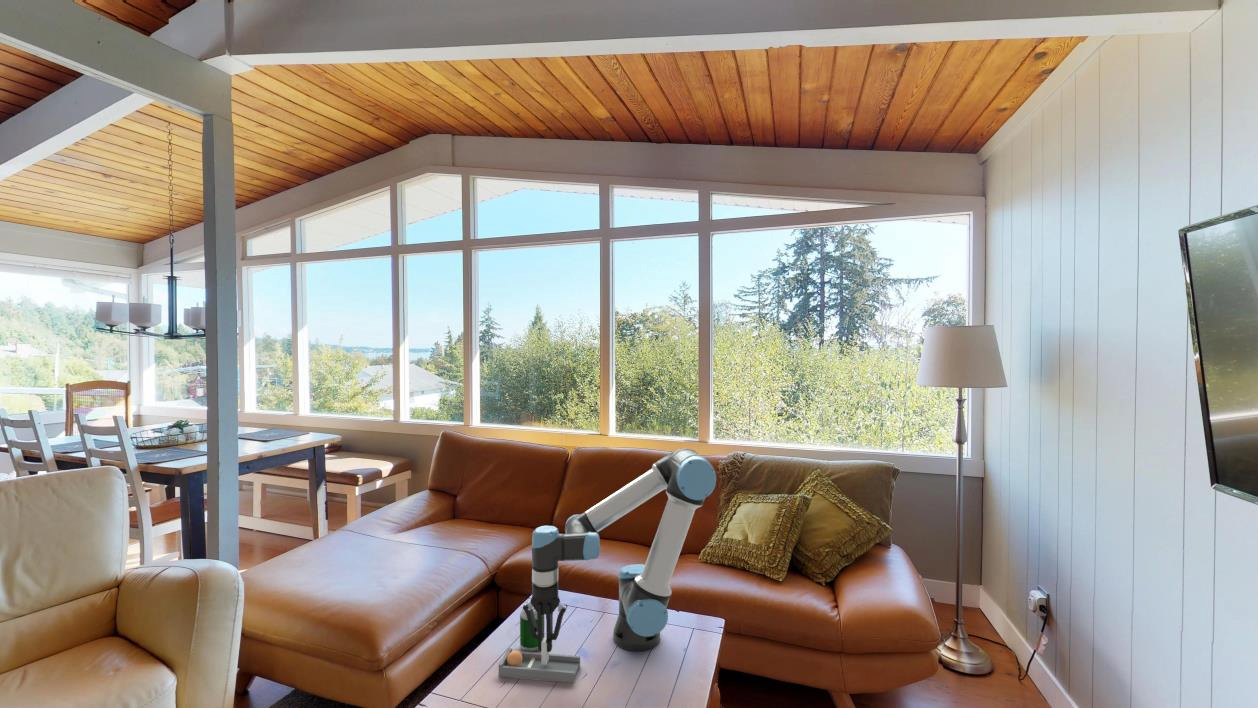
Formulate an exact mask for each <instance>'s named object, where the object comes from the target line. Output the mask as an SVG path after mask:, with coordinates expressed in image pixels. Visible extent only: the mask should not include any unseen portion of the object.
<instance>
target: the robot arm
mask: <svg viewBox="0 0 1258 708" xmlns="http://www.w3.org/2000/svg"><path fill="white" fill-rule="evenodd" d="M716 483H717V474H716V471H715V468H714V466H713V465H712V464H711V463H710V461H709V460H708V459H707V458H705V457H704V456H702V455H701V454H699V453H698V452H697V451H695V450H694V449H692V448H688V447H687V448H686V447H683V448H679V449H678V448H677V449H675V450H674V451H671V452H670V453H668V454H666V455H665V456H663V457H662V458H660V459H659V460H657V461H656V462H654V463H652V466H651V469H649V470H647V471H646V472H645V473H643V474H642V475H639V476H638V477H637V478H635V479H634V480H632V481H631V482H628V483H627V484H626V485H624V486H622V487H621V488H620V489H619V490H617V491H614V492H613V493H612V494H610V495H609V496H608V497H606V498H605V499H603V500H601V501H600V502H598V503H596V504H595V505H593V506H592V507H590V508H589V509H587V510H586V511H584V512H582V513H580V514H573V515H571V516H570V517H568V518H567V520H566V522H565V526H564V532H565V533H560V532H559V528H557V527H556V526H554V525H541V526H539V527H536V528H535V529H534V530H533V532H532V537H531V540H532V541H531V582H532V583H531V598H530V600H529V601H526V602H525V603H524V605H523V607H522V610H523V609H524V611H525V613H526V615H527V619H528V623H529V628H530V632H531V636H532V638H533V639H535V638H536V639H537V640H538V650H537V651H538V652H540V653H541V664H545V665H546V664H547V662H548V660H549V654H550V653H551V651H552V649H553V641H556V640H557V639H558V636H559V635H560V630H561V626H562V622H563V618H564V615H565V613H566V612H567V609H568V604H563V603H562V602H561V600H560V597H559V562H568V561H569V562H571V561H574V562H575V561H589V560H591V561H592V560H596V559H598V558H599V557H600V554H601V551H600V550H601V542H600V541H601V539H600V535H599V532H600V531H602V530H604V529H605V528H607V527H608V526H610V525H612V524H613V523H614V522H616V521H618V520H619V519H621V518H622V517H623V516H625V515H627V514H628V513H630V512H632V511H633V510H635V509H636V508H637V507H640V505H643V504H644V503H646V502H647V501H649V500H650V499H651V498H653V497H654V496H656V495H658V494H659V493H660V492H662V491H664V490H665V494H666V495H667V499H668V500H667V501H666V505H665V507H664V510H663V513H662V516H661V519H660V521H659V524H658V528H657V529H656V530H657V531H656V533H655V536H654V538H653V542H652V543H651V546H650V550H649V552H648V556H647V558H646V561H645V563H644V564H643V563H639V564H638V563H637V564H628V565H627V564H626V565H625V566H622V567H621V568H620V569H619V571H618V580H619V581H618V615H617V619H616V621H615V625H614V626H613V627H614V628H613V632H612V633H613V634H612V635H613V638H612V639H613V642H614V643H615V644H616V645H617V646H618V647H620V648H622V649H624V650H626V651H630V652H631V651H634V652H641V651H642V652H643V651H647V650H651V649H653V648H654V647H656V646H657V645H658V644H659V643H660V641H661V633H662V631H663V630H664V628H666V626H667V623H668V620H669V611H668V608H667V607H668V604H669V601H670V599H671V596H672V593H673V592H672V588H671V586H670V583H671V580H672V577H673V574H674V571H675V569H676V565H677V562H678V560H679V557H680V554H681V552H682V549H683V546H684V543H685V540H686V537H687V535H688V531H689V529H690V526H691V524H692V520H693V517H694V515H695V511H696V510H697V509H699V508H701V507H703V505H704V502H705V499H706V498H707V497H710V495H711V494H712V493H713V491H714V489H715V487H716ZM533 607H534V609H535V610H536V612H537V618H538V630H537V625H536V621H535V617H534V613H533V609H532V608H533ZM557 608H558V609H557ZM556 609H557V611H558V614H557V618H556V622H555V626H554V625H553V623H554V621H553V619H554V617H553V615H554V614H553V613H554V612H555V611H556ZM545 620H546V622H545ZM545 623H546V626H545ZM545 627H546V629H545ZM553 628H554V630H553ZM545 630H546V633H545ZM545 634H546V636H545Z"/></svg>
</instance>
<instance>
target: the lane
mask: <svg viewBox="0 0 1258 708" xmlns="http://www.w3.org/2000/svg"><path fill="white" fill-rule="evenodd" d="M512 651H513V649H512V648H511V647H509V648H508V649H507V650H506V651H505V653H504V655H503V657H502V658H501V660H500V662H499V663H498V677H499V678H510V679H511V678H513V679H521V680H522V679H524V680H532V681H533V680H536V681H548V682H559V683H570V684H575V682H576V679H577V676H578V672H579V670H580V668H581V655H571V654H557V653H549V660H548V662H547V664H546V665H545V664H541V652H535V651H534V652H528V651H519V650H518V651H519V652H520V653H521V654H522V662H521V664H520V665H519V666H518V667H514V666H509V665H508V663H507V657H508V655H509V653H510V652H512Z"/></svg>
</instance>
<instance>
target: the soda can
mask: <svg viewBox="0 0 1258 708" xmlns="http://www.w3.org/2000/svg"><path fill="white" fill-rule="evenodd" d="M532 609H533V613H534V617H535V621H536V625H537V630H538V618H537V612H536V610H535V609H534V607H533V608H532ZM519 614H520V615H519V622H520V623H519V639H520V640H519V645H520V647H521V648H522V649H523V650H524V652H534V653H535V652H538V651H539V650H538V640H537V639H536V638H535V639H533V638H532V636H531V632H530V628H529V623H528V619H527V615H526V613H525V611H524V609H523V608H522V609H521V610H520V612H519Z"/></svg>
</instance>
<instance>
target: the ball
mask: <svg viewBox="0 0 1258 708" xmlns="http://www.w3.org/2000/svg"><path fill="white" fill-rule="evenodd" d="M521 662H522V654H521V653H520V652H519V650H512V652H510V653H509V655H508V657H507V663H508V665H509V666H514V667H518V666H519V665H520V664H521Z"/></svg>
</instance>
